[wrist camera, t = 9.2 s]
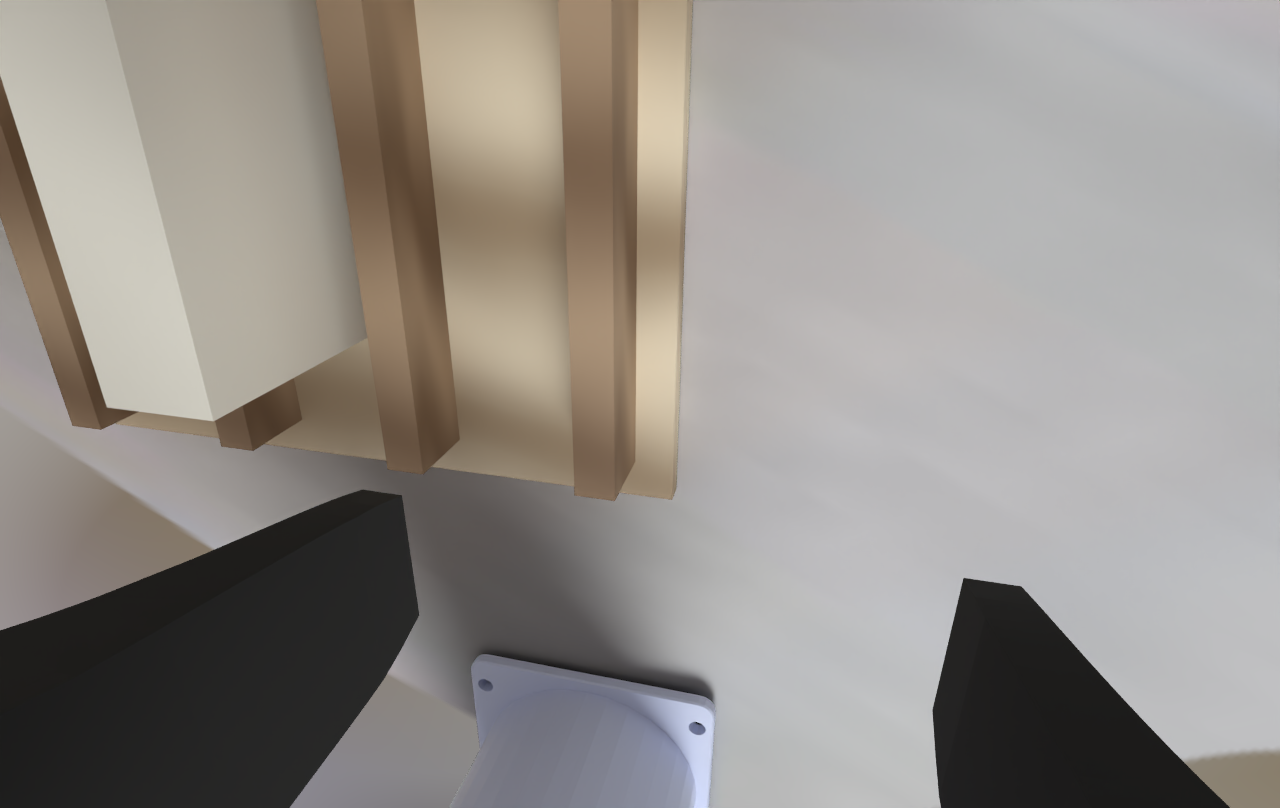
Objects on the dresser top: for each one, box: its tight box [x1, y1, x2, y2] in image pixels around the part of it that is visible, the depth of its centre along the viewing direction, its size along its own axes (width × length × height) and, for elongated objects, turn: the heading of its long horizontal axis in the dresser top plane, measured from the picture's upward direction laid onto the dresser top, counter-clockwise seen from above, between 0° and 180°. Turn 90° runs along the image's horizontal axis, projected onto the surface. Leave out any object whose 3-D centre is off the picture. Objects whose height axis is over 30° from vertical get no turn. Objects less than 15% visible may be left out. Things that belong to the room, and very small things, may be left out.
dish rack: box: [0, 0, 693, 501], centre depth 17 cm, size 16×18×3 cm
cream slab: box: [0, 0, 367, 421], centre depth 15 cm, size 8×2×6 cm, turn 0°
